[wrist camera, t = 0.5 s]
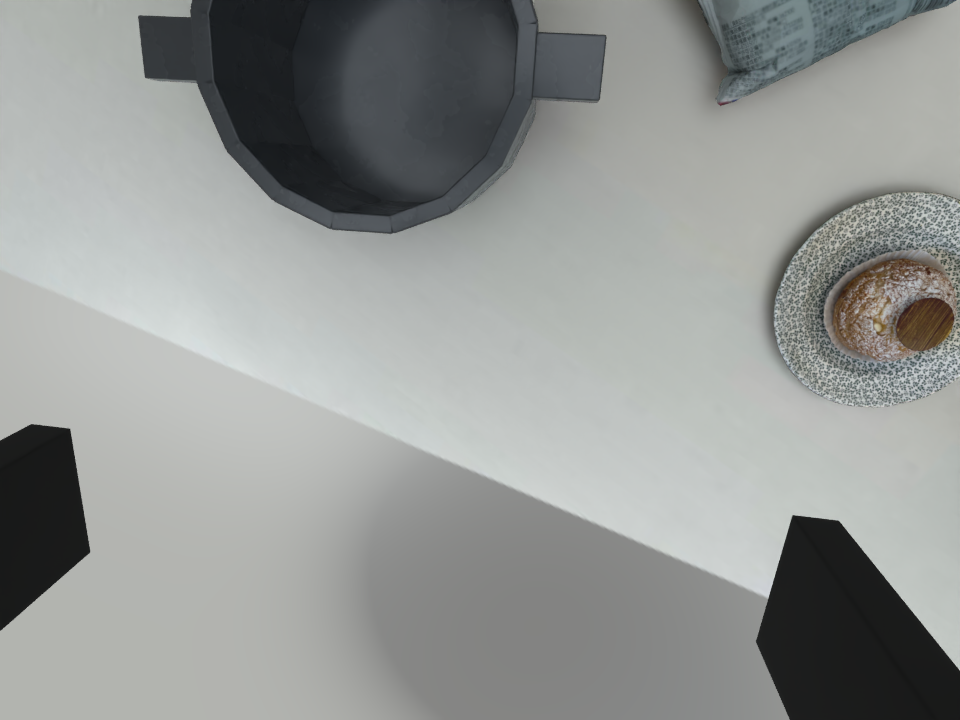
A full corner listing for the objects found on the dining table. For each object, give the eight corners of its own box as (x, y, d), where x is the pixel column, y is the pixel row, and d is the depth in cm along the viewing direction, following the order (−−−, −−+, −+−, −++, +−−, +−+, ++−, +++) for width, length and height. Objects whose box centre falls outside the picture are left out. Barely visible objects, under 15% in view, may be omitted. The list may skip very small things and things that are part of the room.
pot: (225, -74, 31) (106, -164, 23) (604, -64, 30) (629, -155, 21) (244, 204, 35) (150, 217, 27) (574, 226, 34) (585, 247, 25)
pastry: (750, 227, 33) (782, 237, 29) (991, 160, 31) (1065, 160, 27) (784, 420, 36) (816, 456, 32) (1004, 372, 34) (1072, 403, 30)
